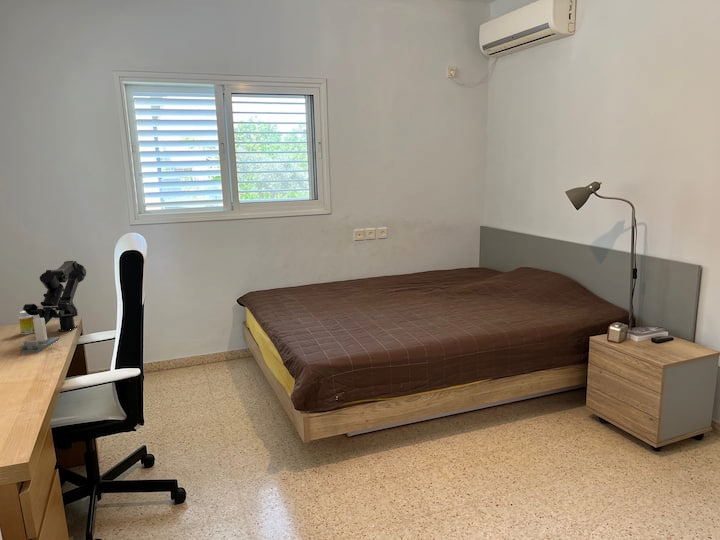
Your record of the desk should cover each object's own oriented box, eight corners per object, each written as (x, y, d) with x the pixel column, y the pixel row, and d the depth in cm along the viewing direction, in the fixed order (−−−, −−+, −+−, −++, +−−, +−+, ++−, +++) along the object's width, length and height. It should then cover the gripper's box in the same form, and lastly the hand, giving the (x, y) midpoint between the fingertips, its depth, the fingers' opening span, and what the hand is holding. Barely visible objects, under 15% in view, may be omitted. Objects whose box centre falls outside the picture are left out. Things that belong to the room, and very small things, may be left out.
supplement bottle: (36, 333, 231) (32, 311, 229) (21, 335, 228) (18, 313, 226) (34, 330, 236) (31, 309, 234) (20, 332, 232) (16, 311, 230)
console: (43, 340, 220) (42, 331, 220) (59, 339, 221) (58, 330, 220) (20, 353, 205) (18, 343, 204) (38, 352, 205) (36, 343, 204)
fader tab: (41, 340, 216) (37, 317, 214) (49, 340, 216) (45, 316, 214) (34, 344, 212) (31, 320, 210) (43, 343, 212) (39, 319, 210)
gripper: (83, 303, 230) (73, 334, 221) (41, 304, 229) (30, 335, 220) (71, 290, 220) (61, 322, 212) (28, 292, 220) (16, 323, 211)
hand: (42, 326), depth 214 cm, fingers closed, pressing on fader tab
